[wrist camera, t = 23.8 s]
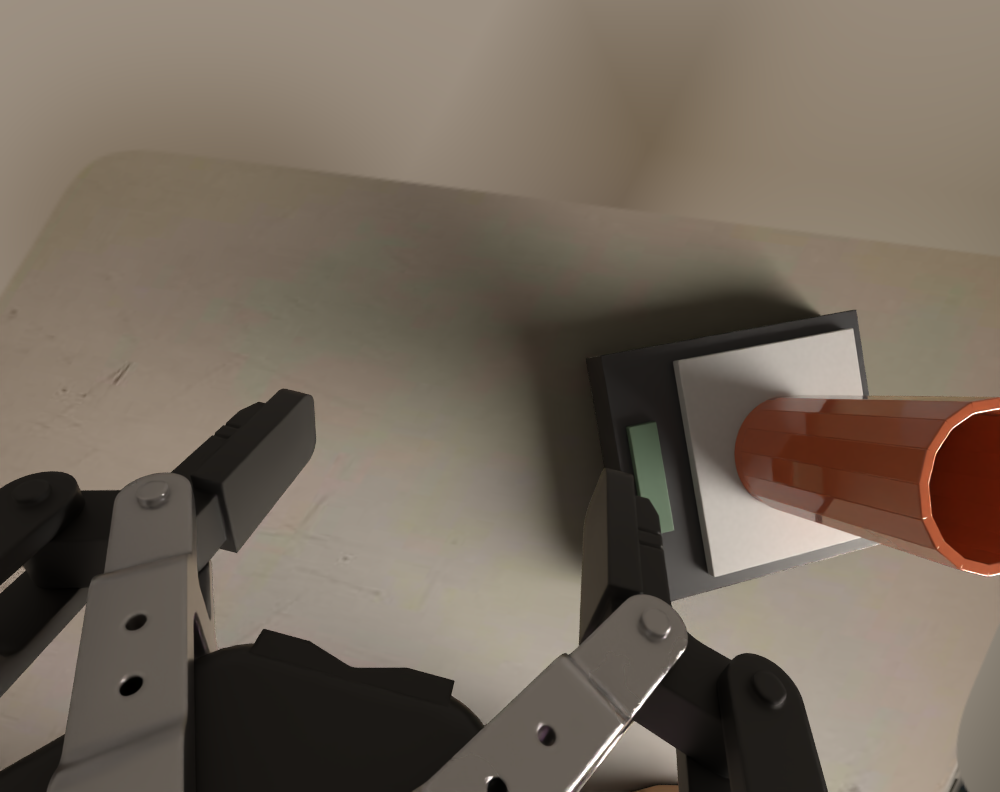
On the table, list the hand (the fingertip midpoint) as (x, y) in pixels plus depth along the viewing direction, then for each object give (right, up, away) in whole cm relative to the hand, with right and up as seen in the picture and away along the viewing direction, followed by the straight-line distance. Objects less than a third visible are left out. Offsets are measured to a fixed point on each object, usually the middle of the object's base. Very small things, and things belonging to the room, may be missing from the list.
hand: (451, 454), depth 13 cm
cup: (+17, -2, +14) cm, 22 cm away
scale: (+15, -2, +17) cm, 23 cm away
